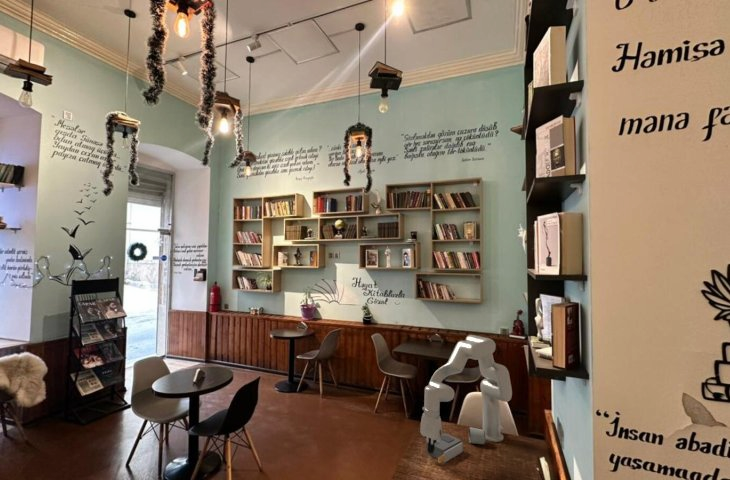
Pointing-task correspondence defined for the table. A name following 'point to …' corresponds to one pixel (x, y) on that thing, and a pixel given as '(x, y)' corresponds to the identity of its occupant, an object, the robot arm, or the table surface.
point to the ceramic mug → (477, 436)
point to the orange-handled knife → (451, 453)
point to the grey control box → (443, 445)
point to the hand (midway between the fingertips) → (430, 451)
